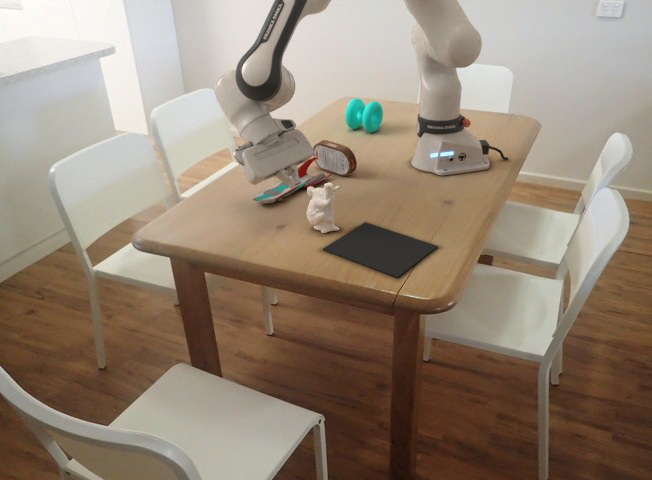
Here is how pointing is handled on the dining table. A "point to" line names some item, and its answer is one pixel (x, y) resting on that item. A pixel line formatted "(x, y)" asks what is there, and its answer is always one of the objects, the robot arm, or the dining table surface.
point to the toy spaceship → (283, 189)
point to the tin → (335, 158)
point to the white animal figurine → (322, 207)
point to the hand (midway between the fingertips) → (296, 185)
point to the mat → (381, 249)
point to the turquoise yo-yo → (363, 115)
